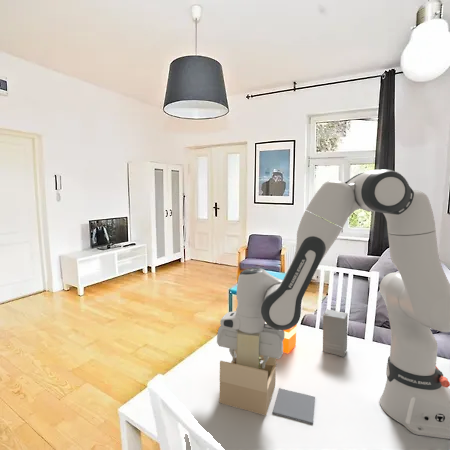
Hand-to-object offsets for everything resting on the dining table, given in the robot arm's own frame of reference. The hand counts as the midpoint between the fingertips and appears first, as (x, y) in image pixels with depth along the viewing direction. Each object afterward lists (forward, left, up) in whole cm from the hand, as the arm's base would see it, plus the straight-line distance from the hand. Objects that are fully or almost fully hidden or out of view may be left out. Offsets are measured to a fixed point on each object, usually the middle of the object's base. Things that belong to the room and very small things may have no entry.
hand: (248, 364), depth 91 cm
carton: (0, 0, -10) cm, 10 cm away
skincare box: (-25, -37, -10) cm, 46 cm away
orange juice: (-5, -33, -10) cm, 35 cm away
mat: (-14, 0, -10) cm, 17 cm away
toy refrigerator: (0, 0, -10) cm, 10 cm away
